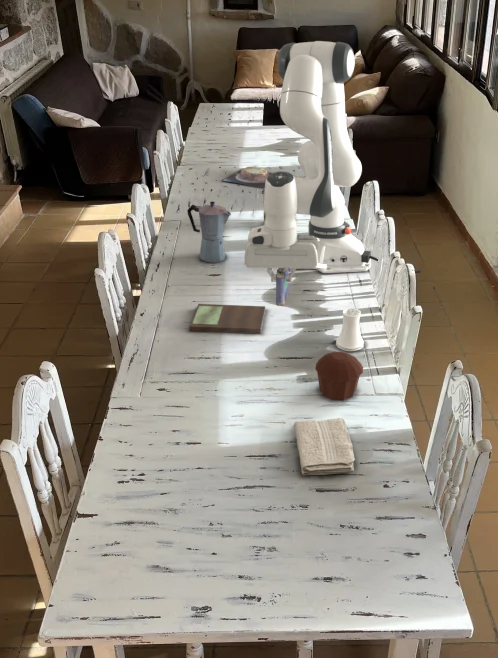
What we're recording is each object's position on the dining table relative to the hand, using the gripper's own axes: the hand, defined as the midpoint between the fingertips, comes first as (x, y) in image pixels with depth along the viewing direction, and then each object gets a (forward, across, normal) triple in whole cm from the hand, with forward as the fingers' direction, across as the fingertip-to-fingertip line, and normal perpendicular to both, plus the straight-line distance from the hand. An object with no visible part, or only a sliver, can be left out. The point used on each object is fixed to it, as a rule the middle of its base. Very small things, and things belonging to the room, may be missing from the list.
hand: (281, 281), depth 203 cm
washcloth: (+13, -13, +58) cm, 61 cm away
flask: (+6, 0, -1) cm, 6 cm away
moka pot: (+13, +27, -44) cm, 53 cm away
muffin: (+13, -16, +34) cm, 40 cm away
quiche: (+14, +22, -132) cm, 134 cm away
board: (+13, +15, 0) cm, 20 cm away
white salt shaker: (+13, -20, +11) cm, 26 cm away
